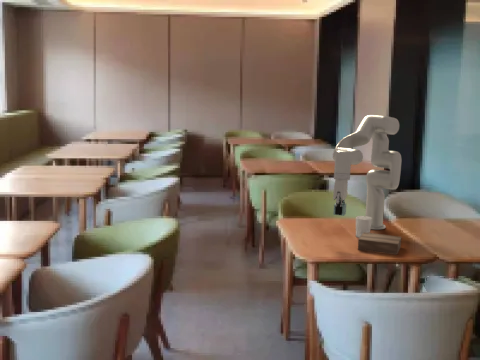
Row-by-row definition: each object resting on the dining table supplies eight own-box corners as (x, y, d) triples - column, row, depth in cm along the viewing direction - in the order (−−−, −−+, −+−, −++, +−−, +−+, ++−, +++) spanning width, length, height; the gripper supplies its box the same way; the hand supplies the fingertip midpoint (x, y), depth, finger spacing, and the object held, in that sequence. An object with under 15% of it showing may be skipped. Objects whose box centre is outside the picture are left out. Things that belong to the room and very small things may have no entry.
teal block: (335, 212, 281) (336, 202, 280) (345, 213, 279) (346, 203, 278) (333, 214, 276) (333, 204, 275) (343, 215, 274) (344, 205, 273)
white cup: (358, 239, 290) (359, 219, 288) (352, 234, 297) (353, 215, 296) (372, 238, 291) (374, 219, 289) (366, 234, 299) (367, 215, 297)
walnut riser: (363, 242, 284) (363, 232, 283) (400, 246, 278) (401, 236, 277) (357, 249, 271) (358, 239, 271) (397, 254, 265) (397, 244, 264)
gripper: (338, 172, 283) (335, 209, 287) (330, 178, 268) (327, 216, 271) (353, 174, 281) (350, 210, 284) (346, 179, 265) (343, 218, 268)
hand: (339, 213), depth 277 cm, fingers closed on teal block, 4 cm apart
